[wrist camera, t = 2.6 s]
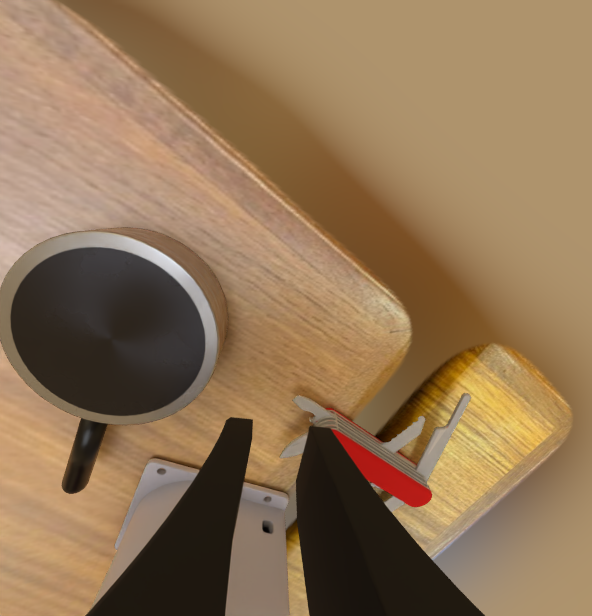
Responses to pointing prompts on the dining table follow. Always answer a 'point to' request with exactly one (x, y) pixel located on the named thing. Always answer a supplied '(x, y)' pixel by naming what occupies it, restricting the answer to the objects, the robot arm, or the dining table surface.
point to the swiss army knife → (383, 452)
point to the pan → (112, 330)
